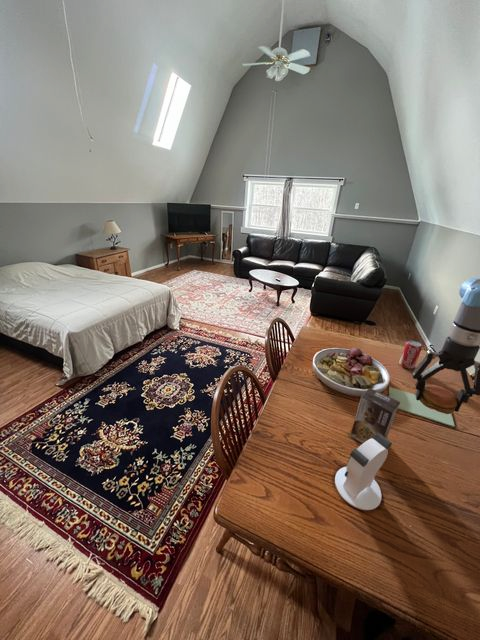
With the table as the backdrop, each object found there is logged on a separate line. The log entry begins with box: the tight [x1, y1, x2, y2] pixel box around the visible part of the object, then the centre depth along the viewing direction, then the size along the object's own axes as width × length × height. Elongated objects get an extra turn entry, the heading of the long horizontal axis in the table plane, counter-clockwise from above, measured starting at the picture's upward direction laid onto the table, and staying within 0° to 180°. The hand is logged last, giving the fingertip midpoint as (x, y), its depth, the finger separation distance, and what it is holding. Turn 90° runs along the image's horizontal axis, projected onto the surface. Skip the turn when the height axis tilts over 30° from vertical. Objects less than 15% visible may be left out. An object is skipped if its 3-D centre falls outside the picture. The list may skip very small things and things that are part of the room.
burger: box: [419, 384, 457, 414], centre depth 83 cm, size 10×9×5 cm
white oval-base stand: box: [334, 433, 393, 511], centre depth 67 cm, size 12×11×15 cm
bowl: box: [312, 347, 391, 398], centre depth 112 cm, size 30×30×8 cm
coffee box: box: [349, 388, 400, 444], centre depth 81 cm, size 9×6×16 cm
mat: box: [388, 386, 456, 428], centre depth 99 cm, size 20×12×1 cm, turn 63°
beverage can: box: [398, 340, 423, 369], centre depth 121 cm, size 6×6×12 cm
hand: (435, 403), depth 84 cm, fingers closed on burger, 9 cm apart
